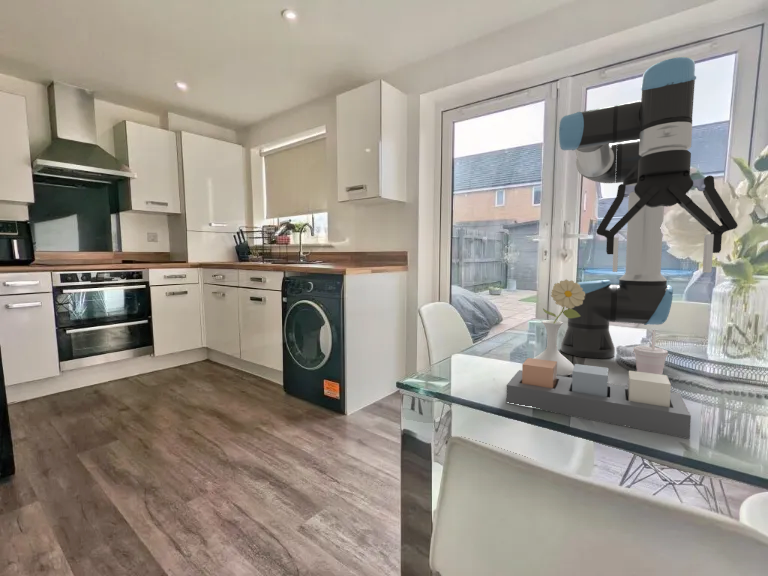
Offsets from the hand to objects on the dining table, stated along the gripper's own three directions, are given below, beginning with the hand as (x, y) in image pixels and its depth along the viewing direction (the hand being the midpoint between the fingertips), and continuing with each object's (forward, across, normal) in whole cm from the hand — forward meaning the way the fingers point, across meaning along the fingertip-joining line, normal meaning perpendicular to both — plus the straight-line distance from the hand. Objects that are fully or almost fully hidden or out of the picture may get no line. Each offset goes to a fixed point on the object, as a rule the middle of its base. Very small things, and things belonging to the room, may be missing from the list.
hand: (658, 272), depth 68 cm
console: (+28, -10, 0) cm, 30 cm away
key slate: (+25, -10, 0) cm, 27 cm away
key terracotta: (+25, -20, 0) cm, 32 cm away
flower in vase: (+28, -19, +21) cm, 40 cm away
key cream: (+25, -1, 0) cm, 25 cm away
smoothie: (+28, +1, +18) cm, 33 cm away
